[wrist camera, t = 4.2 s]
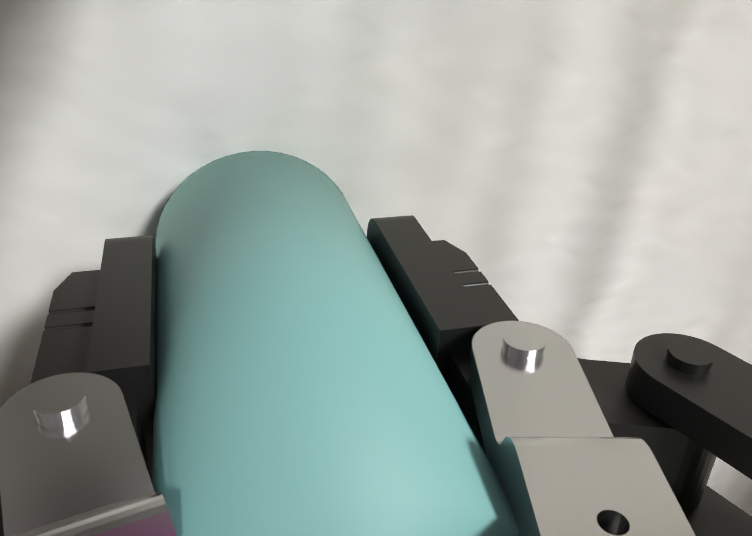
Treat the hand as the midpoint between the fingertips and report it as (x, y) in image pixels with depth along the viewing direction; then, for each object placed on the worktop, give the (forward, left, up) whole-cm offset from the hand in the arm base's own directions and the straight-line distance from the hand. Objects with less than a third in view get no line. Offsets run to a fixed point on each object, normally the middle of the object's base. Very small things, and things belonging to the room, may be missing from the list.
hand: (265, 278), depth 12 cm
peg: (0, 0, -1) cm, 1 cm away
